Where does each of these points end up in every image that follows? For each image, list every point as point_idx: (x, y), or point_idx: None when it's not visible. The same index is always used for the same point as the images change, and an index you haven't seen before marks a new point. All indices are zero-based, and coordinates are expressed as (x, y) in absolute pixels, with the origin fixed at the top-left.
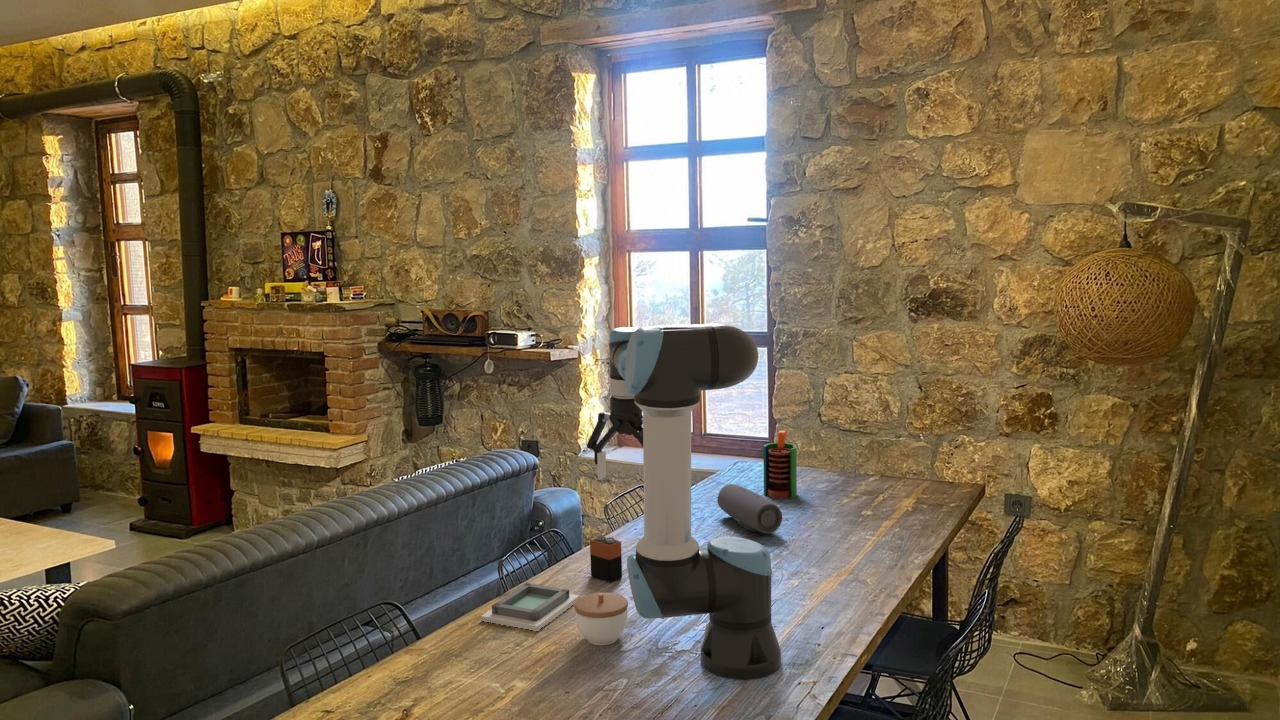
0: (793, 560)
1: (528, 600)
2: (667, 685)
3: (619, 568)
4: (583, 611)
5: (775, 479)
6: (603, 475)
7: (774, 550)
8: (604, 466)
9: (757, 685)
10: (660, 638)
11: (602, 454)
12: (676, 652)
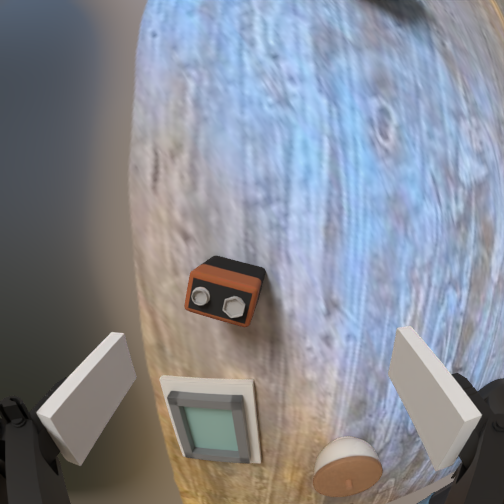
0: (474, 76)
1: (198, 418)
2: (428, 468)
3: (262, 281)
4: (337, 496)
5: None
6: (125, 361)
7: (432, 38)
8: (102, 374)
9: None
10: (407, 419)
11: (74, 439)
12: None
